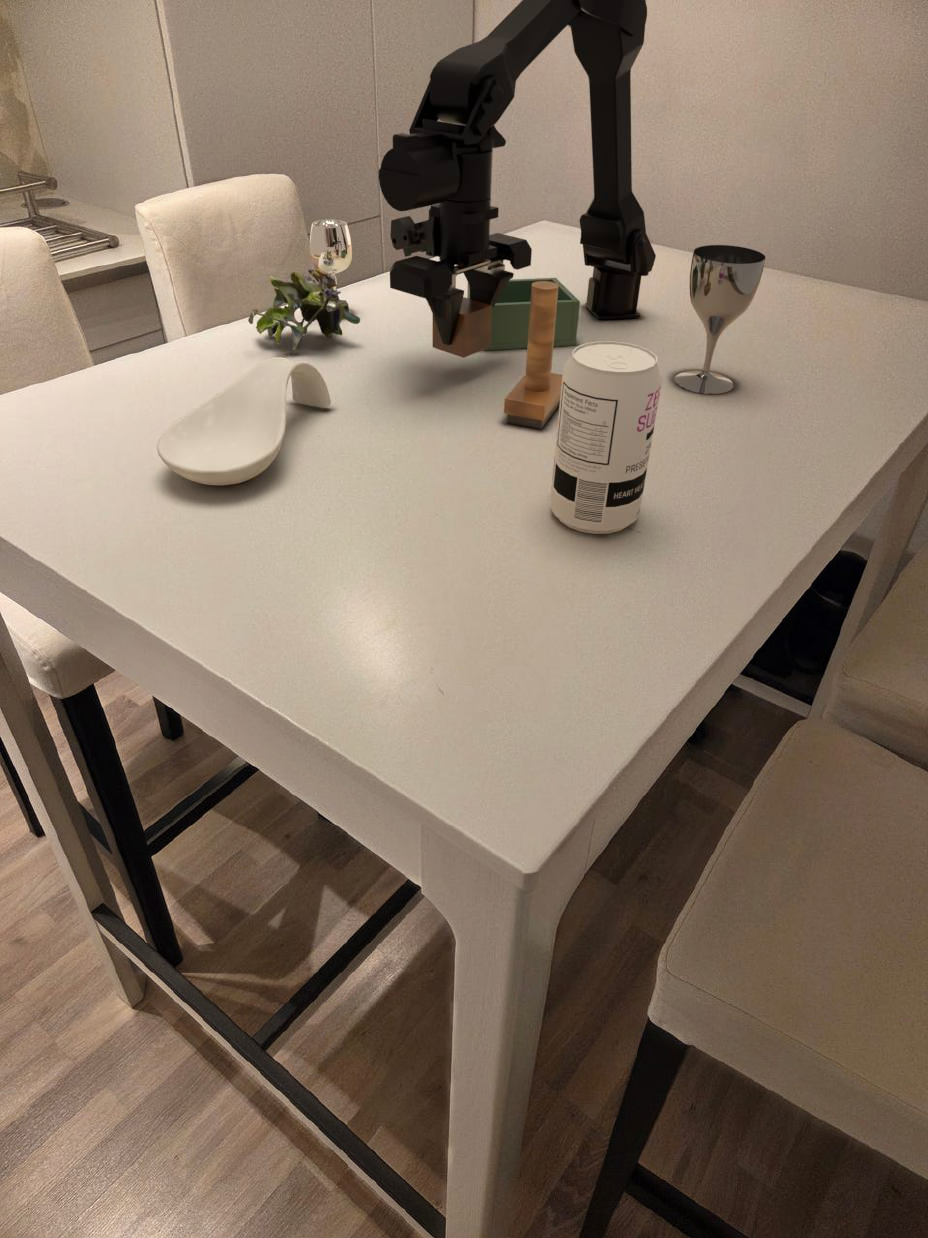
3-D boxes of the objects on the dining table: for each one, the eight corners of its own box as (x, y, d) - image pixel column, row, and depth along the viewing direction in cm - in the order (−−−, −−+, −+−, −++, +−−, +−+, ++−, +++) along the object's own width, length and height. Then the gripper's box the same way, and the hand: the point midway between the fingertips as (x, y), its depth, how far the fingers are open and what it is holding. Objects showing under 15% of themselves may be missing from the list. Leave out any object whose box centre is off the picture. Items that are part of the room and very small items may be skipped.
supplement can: (542, 493, 83) (556, 338, 74) (626, 491, 83) (651, 338, 74) (557, 538, 76) (574, 375, 67) (648, 536, 77) (677, 374, 68)
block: (459, 336, 107) (460, 295, 104) (490, 347, 104) (492, 305, 101) (432, 347, 104) (432, 305, 101) (463, 358, 101) (464, 315, 98)
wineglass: (359, 308, 125) (354, 219, 118) (351, 321, 121) (346, 229, 113) (320, 306, 125) (313, 217, 118) (310, 319, 121) (303, 227, 114)
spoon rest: (247, 512, 79) (237, 440, 74) (138, 489, 82) (122, 418, 77) (358, 412, 97) (355, 349, 92) (265, 396, 100) (258, 334, 95)
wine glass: (739, 375, 108) (767, 249, 99) (733, 399, 102) (763, 267, 93) (675, 366, 110) (697, 241, 101) (666, 389, 104) (689, 258, 95)
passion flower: (329, 376, 119) (377, 307, 112) (289, 390, 109) (340, 316, 103) (268, 318, 118) (314, 245, 112) (224, 327, 109) (270, 249, 103)
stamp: (565, 400, 101) (578, 275, 92) (542, 431, 94) (554, 300, 85) (528, 393, 102) (536, 270, 93) (502, 423, 95) (510, 294, 87)
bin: (552, 319, 123) (556, 277, 120) (575, 345, 115) (580, 301, 112) (466, 323, 121) (467, 280, 118) (483, 350, 113) (485, 305, 109)
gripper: (464, 173, 104) (461, 305, 113) (350, 197, 92) (358, 341, 102) (538, 188, 98) (529, 325, 107) (427, 215, 87) (428, 366, 96)
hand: (461, 338), depth 103 cm, fingers closed on block, 5 cm apart
